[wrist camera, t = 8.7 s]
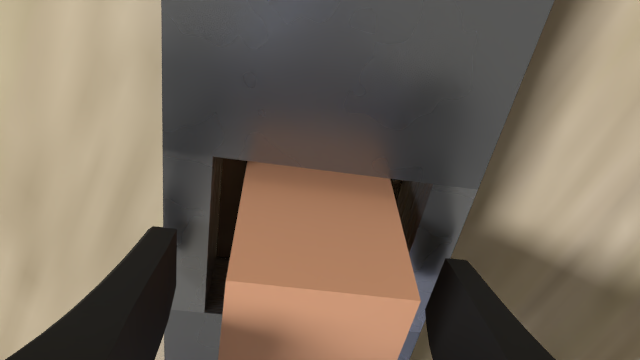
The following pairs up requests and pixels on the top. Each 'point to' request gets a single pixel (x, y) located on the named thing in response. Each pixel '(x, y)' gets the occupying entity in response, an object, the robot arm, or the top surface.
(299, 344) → the square block
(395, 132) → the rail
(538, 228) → the top surface
